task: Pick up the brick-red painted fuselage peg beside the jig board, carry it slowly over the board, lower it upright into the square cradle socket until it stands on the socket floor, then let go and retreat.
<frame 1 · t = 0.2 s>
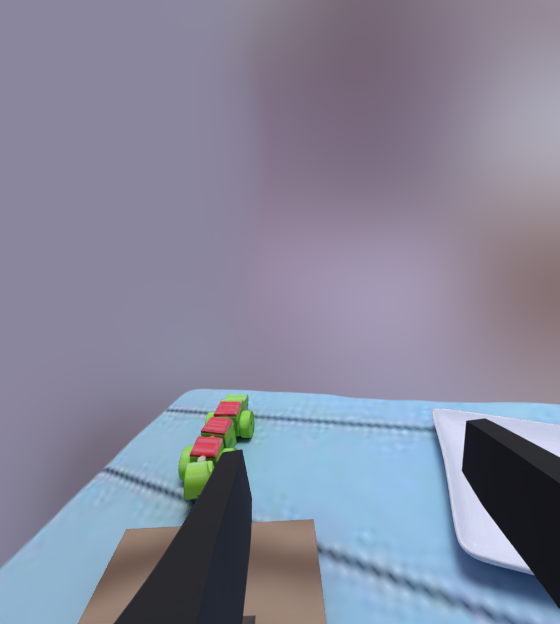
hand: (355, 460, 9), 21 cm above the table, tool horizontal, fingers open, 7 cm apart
salad plate: (554, 507, 30), on the table
toy crocodile: (223, 454, 40), on the table
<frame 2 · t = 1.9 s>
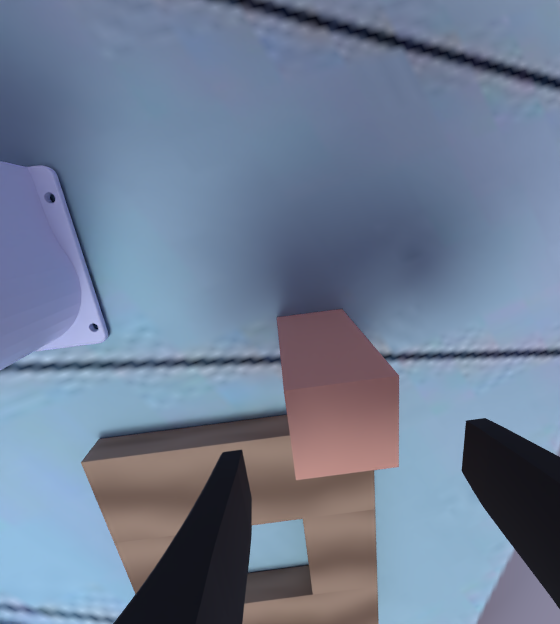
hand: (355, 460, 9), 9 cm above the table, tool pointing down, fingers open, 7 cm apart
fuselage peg: (312, 343, 18), on the table
jig board: (254, 537, 23), on the table
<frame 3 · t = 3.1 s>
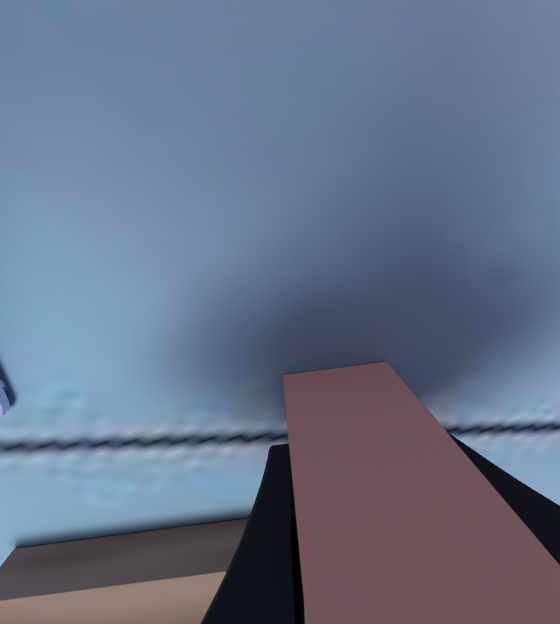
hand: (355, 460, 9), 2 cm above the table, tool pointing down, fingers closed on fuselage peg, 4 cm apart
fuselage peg: (337, 412, 12), on the table, touching gripper
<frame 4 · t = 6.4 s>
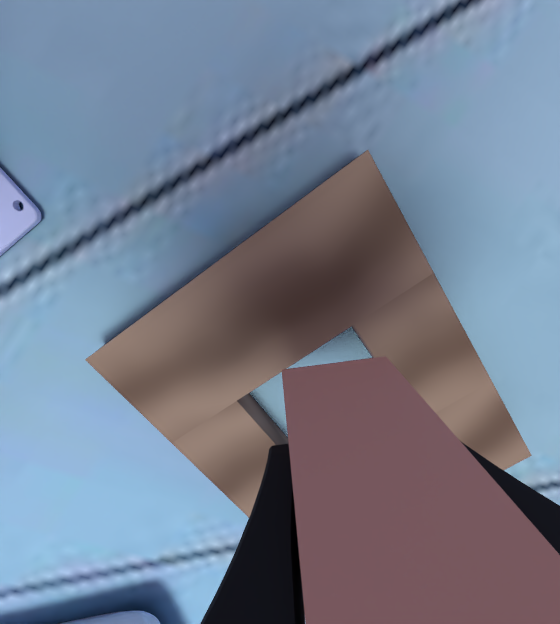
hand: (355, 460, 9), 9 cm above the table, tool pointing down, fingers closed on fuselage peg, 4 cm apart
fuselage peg: (337, 407, 12), point 7 cm above the table, touching gripper
jig board: (323, 393, 19), on the table
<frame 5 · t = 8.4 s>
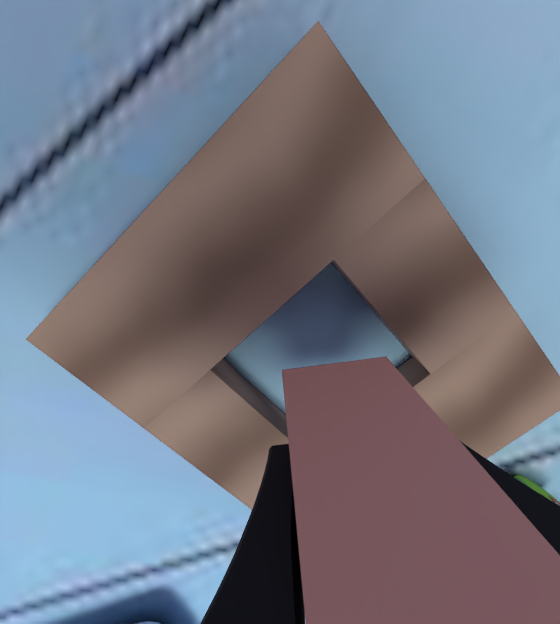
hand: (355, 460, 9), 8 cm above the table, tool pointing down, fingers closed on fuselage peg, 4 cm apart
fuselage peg: (337, 407, 12), point 5 cm above the table, touching gripper
jig board: (316, 354, 17), on the table
when the fingers open (3 cm above the table, at t = 9.8 s): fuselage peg stays where it is, resting in jig board.
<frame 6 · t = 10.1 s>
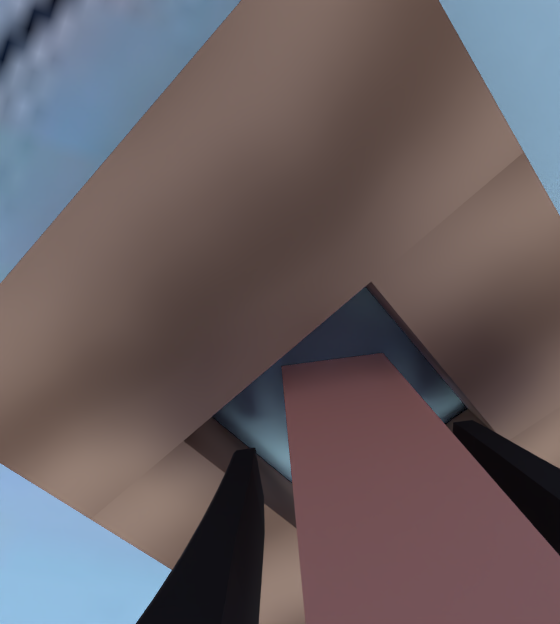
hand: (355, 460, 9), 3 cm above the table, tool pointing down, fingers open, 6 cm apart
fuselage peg: (335, 402, 12), resting in jig board
jig board: (335, 406, 12), on the table
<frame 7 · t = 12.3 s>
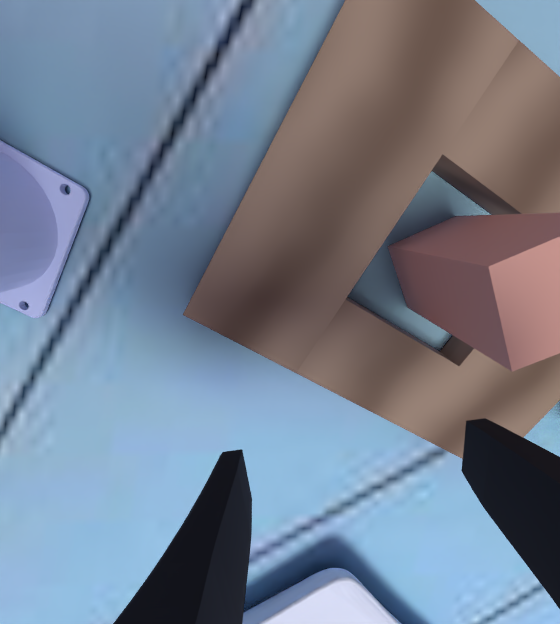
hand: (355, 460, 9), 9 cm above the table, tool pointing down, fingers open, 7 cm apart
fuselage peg: (430, 263, 17), resting in jig board
jig board: (431, 266, 17), on the table
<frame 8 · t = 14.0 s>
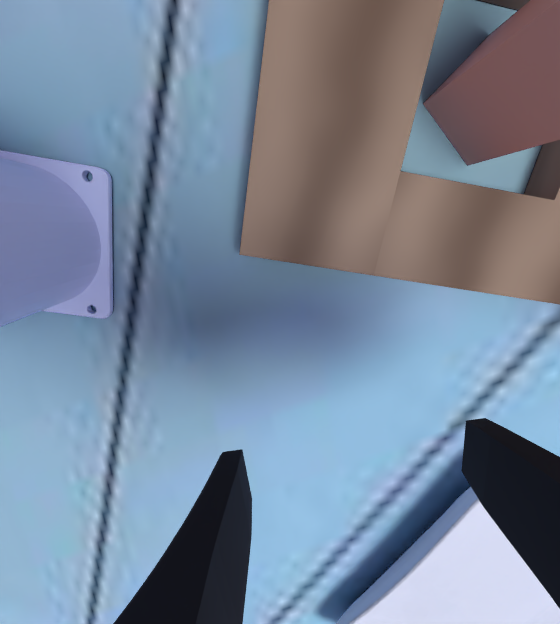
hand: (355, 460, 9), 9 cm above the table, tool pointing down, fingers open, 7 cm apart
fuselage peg: (477, 104, 15), resting in jig board
salad plate: (474, 569, 26), on the table
jig board: (480, 106, 15), on the table
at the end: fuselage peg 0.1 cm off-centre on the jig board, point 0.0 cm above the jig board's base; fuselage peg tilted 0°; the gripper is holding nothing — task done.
